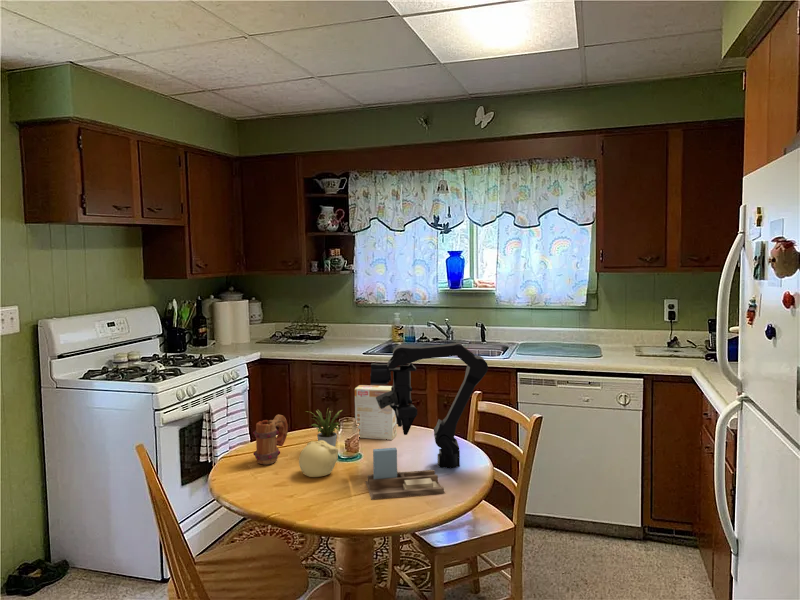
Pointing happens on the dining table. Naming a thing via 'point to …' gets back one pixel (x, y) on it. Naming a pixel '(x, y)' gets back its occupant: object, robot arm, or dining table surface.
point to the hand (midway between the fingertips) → (402, 430)
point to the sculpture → (318, 458)
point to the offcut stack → (419, 484)
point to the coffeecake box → (374, 413)
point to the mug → (270, 439)
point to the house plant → (327, 428)
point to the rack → (401, 485)
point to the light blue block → (385, 463)
